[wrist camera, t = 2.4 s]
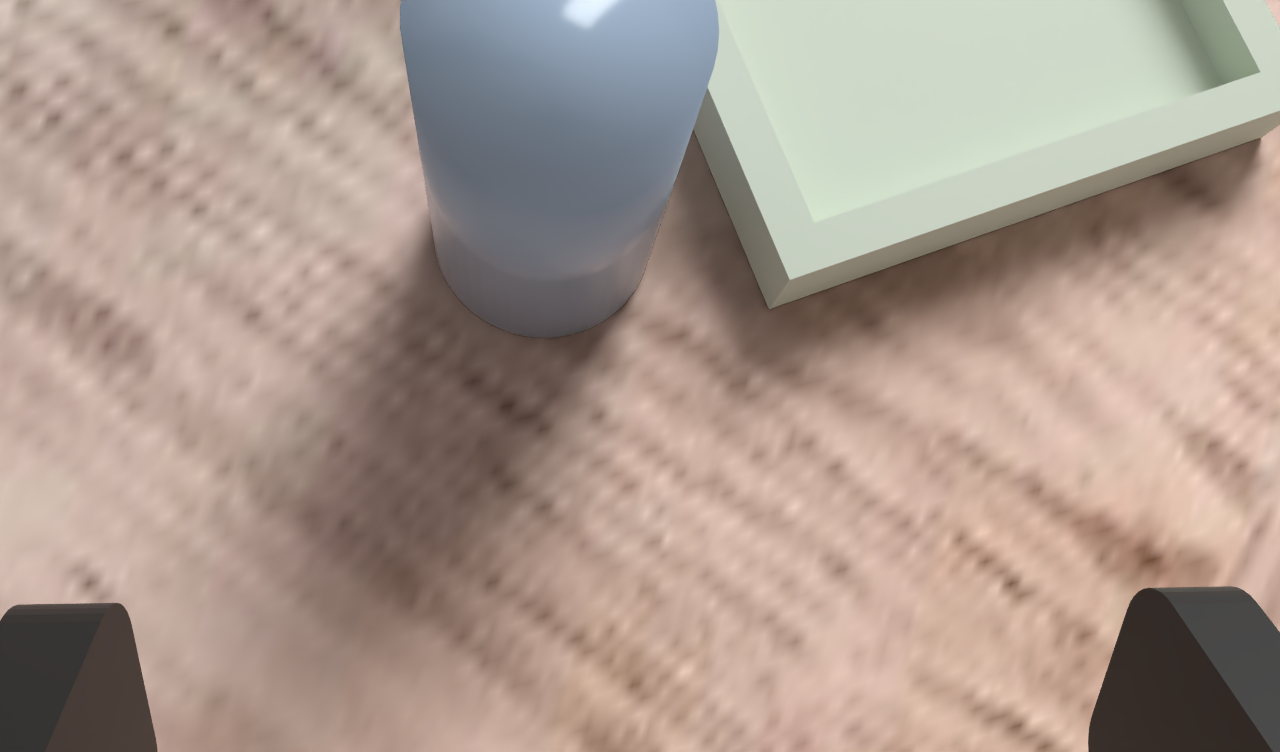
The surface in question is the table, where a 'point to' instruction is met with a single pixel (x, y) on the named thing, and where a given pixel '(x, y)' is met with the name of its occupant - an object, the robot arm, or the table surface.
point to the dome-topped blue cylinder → (552, 145)
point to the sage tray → (961, 117)
